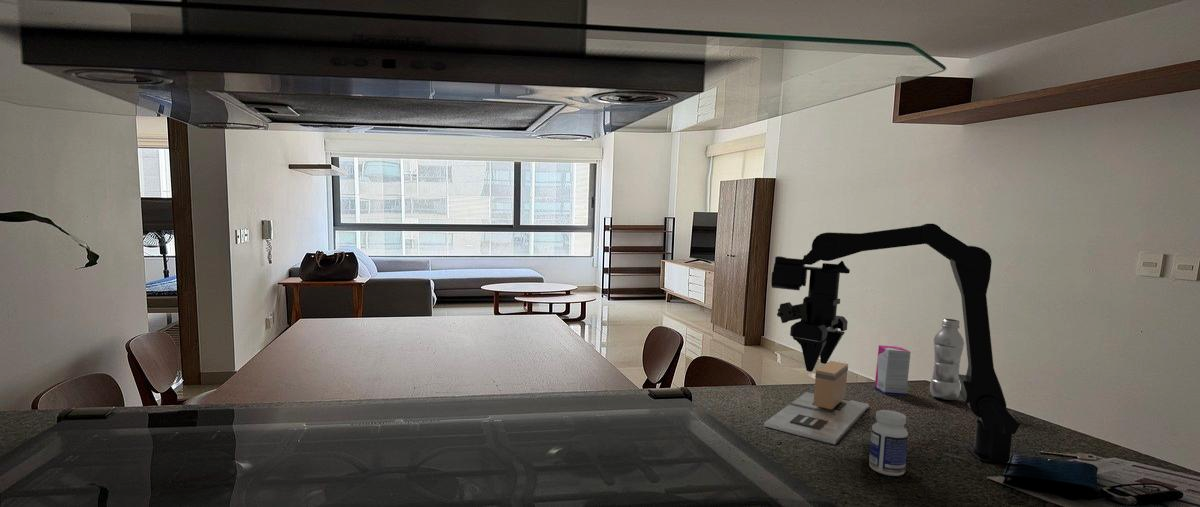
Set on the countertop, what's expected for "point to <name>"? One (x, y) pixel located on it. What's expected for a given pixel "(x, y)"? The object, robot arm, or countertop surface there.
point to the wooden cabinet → (830, 384)
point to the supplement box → (892, 370)
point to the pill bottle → (889, 443)
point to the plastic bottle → (947, 361)
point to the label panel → (817, 418)
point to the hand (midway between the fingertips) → (816, 367)
